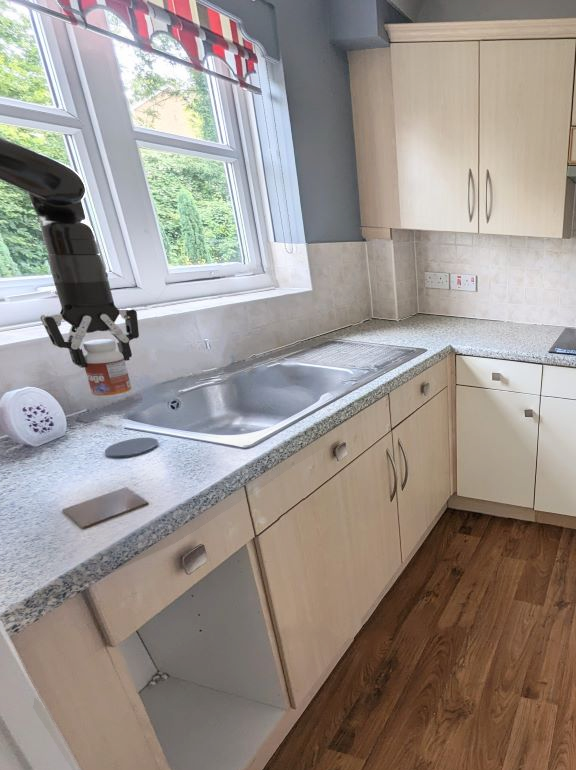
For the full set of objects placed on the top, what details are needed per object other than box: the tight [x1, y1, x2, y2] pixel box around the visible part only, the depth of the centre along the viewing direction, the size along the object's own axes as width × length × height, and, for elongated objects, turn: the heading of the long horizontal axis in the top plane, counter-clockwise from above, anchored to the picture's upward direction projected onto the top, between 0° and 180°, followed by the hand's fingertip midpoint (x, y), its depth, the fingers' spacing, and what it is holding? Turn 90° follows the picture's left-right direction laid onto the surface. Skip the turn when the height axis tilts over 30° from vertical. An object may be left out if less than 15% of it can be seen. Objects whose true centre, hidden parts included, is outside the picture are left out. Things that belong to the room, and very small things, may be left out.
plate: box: [104, 437, 159, 459], centre depth 100 cm, size 9×9×1 cm
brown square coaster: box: [61, 486, 150, 530], centre depth 80 cm, size 9×9×1 cm
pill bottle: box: [82, 338, 133, 399], centre depth 92 cm, size 6×6×11 cm
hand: (104, 363), depth 92 cm, fingers closed on pill bottle, 6 cm apart
